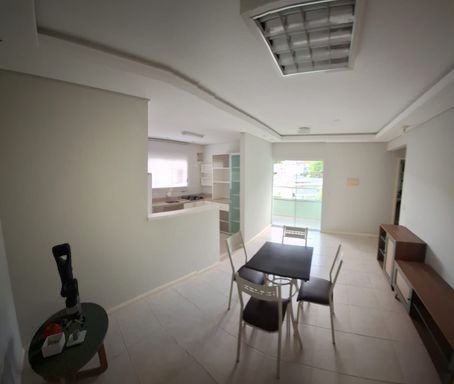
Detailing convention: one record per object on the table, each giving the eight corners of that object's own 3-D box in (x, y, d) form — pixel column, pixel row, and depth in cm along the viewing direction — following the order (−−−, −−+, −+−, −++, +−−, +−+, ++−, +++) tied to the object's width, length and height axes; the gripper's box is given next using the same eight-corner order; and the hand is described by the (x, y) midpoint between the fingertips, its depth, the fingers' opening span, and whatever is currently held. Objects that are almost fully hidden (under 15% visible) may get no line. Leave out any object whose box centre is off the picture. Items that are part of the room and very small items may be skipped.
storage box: (49, 345, 156) (47, 336, 154) (65, 341, 159) (63, 332, 158) (43, 357, 146) (41, 348, 145) (60, 352, 150) (59, 343, 149)
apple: (43, 337, 162) (40, 326, 161) (60, 329, 170) (58, 317, 169) (45, 346, 155) (43, 333, 154) (63, 336, 163) (61, 325, 161)
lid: (70, 336, 163) (69, 328, 162) (86, 332, 167) (85, 324, 166) (66, 348, 154) (65, 339, 152) (83, 343, 158) (82, 334, 156)
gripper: (85, 304, 162) (87, 322, 165) (62, 309, 157) (65, 327, 160) (82, 310, 155) (85, 329, 158) (59, 316, 150) (62, 335, 153)
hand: (75, 328), depth 159 cm, fingers open, 8 cm apart
